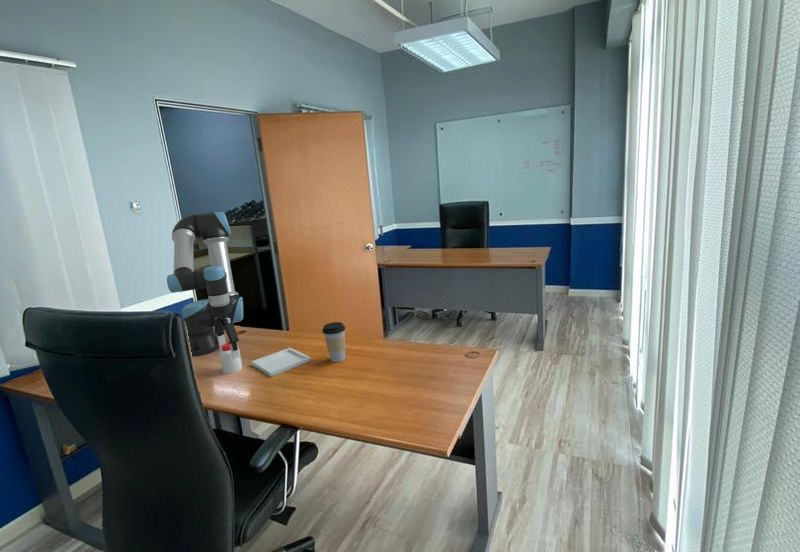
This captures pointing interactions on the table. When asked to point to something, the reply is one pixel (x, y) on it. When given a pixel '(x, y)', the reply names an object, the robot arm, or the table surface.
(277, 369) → the tray
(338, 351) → the coffee cup
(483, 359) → the table surface
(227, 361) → the pill bottle
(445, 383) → the table surface
